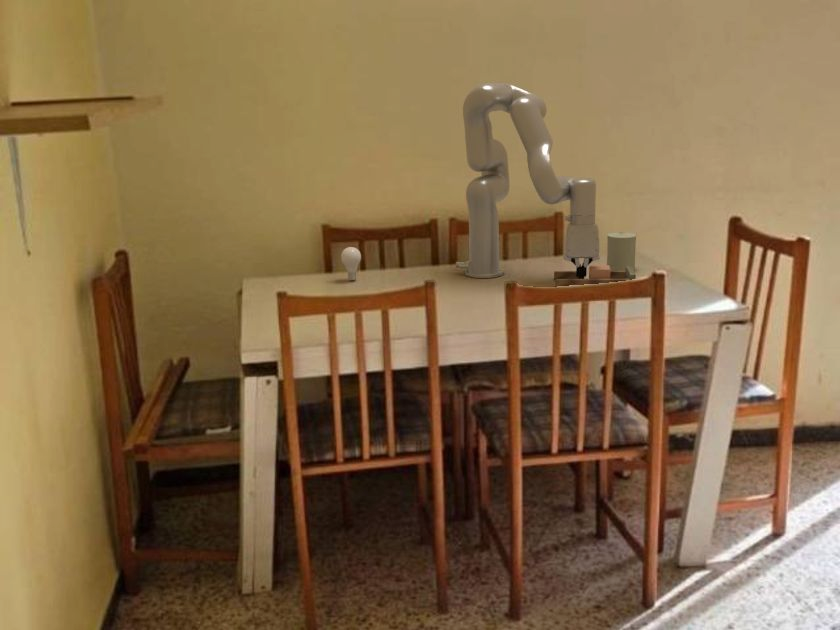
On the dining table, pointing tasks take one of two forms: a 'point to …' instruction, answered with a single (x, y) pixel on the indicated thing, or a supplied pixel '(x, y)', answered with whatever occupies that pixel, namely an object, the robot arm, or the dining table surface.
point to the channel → (570, 279)
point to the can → (621, 251)
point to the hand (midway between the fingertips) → (581, 278)
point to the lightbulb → (351, 261)
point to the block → (599, 272)
